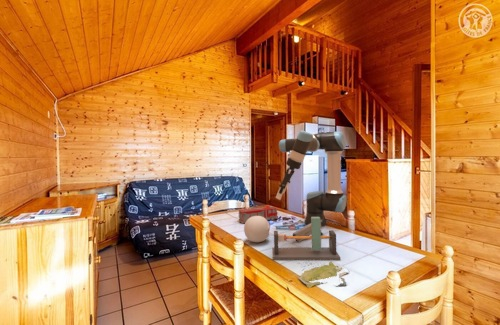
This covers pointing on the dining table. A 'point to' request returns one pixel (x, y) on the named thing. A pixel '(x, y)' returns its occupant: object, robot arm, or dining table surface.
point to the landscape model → (321, 274)
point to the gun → (306, 231)
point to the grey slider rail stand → (305, 249)
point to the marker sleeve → (316, 233)
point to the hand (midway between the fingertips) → (279, 195)
